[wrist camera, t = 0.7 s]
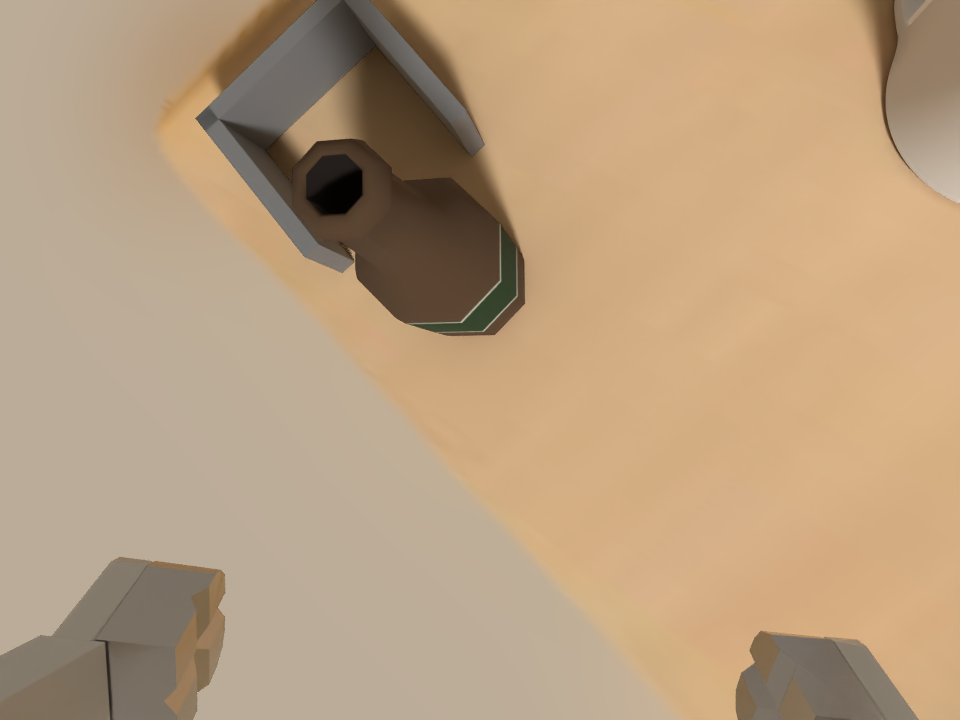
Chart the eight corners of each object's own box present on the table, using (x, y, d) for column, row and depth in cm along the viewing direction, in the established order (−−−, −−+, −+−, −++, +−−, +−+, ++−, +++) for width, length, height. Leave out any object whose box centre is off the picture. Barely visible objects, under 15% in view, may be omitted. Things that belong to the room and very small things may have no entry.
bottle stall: (378, 22, 49) (345, -28, 43) (484, 144, 47) (466, 110, 41) (244, 149, 50) (195, 118, 45) (342, 272, 49) (304, 257, 43)
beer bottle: (444, 213, 47) (275, 42, 24) (548, 250, 46) (478, 109, 22) (403, 317, 48) (196, 251, 24) (505, 358, 46) (391, 330, 23)
